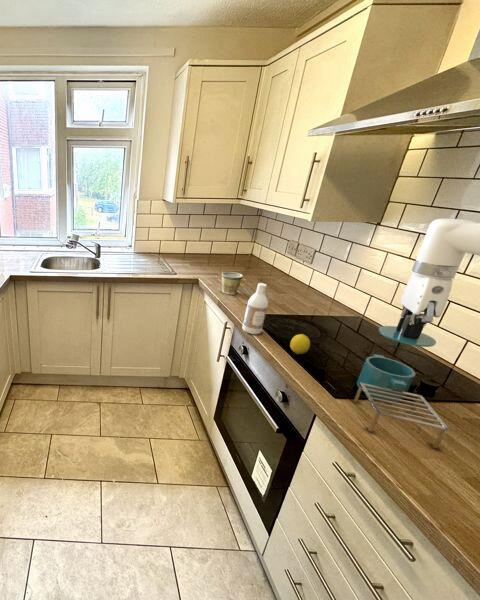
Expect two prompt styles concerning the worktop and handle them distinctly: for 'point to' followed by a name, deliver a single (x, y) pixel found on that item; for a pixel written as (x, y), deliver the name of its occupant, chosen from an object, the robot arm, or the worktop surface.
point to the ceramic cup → (231, 282)
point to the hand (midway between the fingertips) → (406, 334)
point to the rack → (411, 412)
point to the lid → (397, 336)
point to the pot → (386, 376)
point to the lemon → (300, 344)
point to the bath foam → (256, 311)
